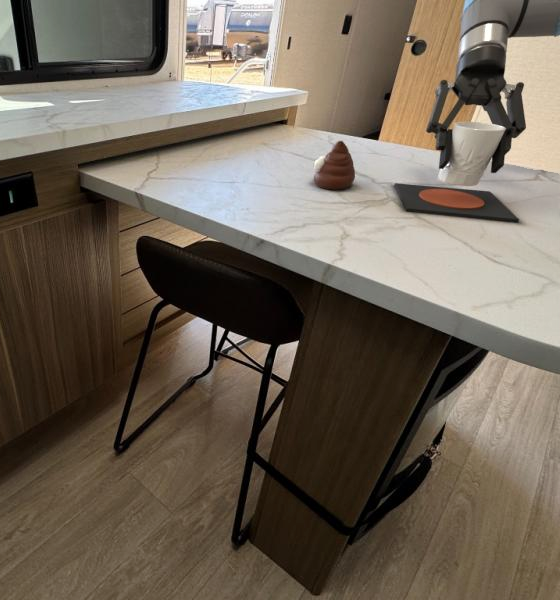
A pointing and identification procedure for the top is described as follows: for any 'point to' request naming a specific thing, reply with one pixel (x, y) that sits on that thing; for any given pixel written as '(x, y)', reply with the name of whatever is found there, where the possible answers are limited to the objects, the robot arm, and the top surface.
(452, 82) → the robot arm
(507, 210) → the placemat
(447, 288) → the top surface
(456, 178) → the white cup
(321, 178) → the poop emoji
